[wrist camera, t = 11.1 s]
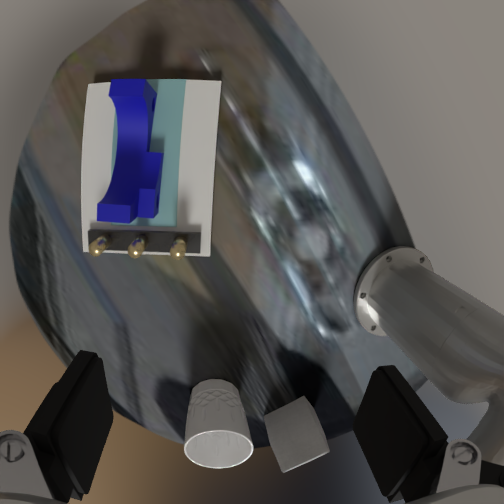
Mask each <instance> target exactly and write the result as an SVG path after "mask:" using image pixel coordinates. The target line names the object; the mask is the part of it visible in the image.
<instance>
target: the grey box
mask: <svg viewBox="0 0 504 504" xmlns="http://www.w3.org/2000/svg"><path fill="white" fill-rule="evenodd" d="M264 419H265V424H266V428H267V432H268V436H269V441H270V445H271V447H272V449H273V452H274V453H275V456H276V458H277V461H278V463H279V465H280V468H281V470H282V472H283V473H284V472H286V471H289V470H291V469H293V468H296V467H298V466H300V465H302V464H305V463H307V462H309V461H311V460H313V459H316V458H318V457H320V456H322V455H324V454H326V453H328V452H329V448H328V444H327V441H326V437H325V434H324V432H323V429H322V427H321V425H320V422H319V420H318V417H317V415H316V413H315V410H314V408H313V407H312V406H311V404H310V403H309V401H308V400H307V399H306V397H305V396H302V397H300V398H298V399H297V400H295V401H293V402H291V403H289V404H287V405H285V406H283V407H281V408H279V409H277V410H275V411H273V412H271V413H269V414H267V415H265V416H264Z"/></svg>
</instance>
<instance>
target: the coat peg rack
mask: <svg viewBox="0 0 504 504" xmlns="http://www.w3.org/2000/svg"><path fill="white" fill-rule="evenodd" d="M88 247H89V248H88V249H89V253H90V254H91V255H92V256H95V257H97V256H99V255H100V254H101V253H102V252H103V251H105V250H113V251H128V254H129V255H130V256H131V257H132V258H138V257H140V256H141V254H142V253H143V252H168V253H170V255H171V257H172V258H173V259H176V260H180V259H182V258H183V257H184V256H185V253H197V254H200V250H201V232H175V231H143V230H104V229H90V230H88Z"/></svg>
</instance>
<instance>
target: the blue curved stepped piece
mask: <svg viewBox="0 0 504 504" xmlns="http://www.w3.org/2000/svg"><path fill="white" fill-rule="evenodd" d="M108 96H109V97H110V98H111V99H112V101H113V103H114V106H115V110H116V115H117V127H118V136H117V151H116V159H115V165H114V170H113V174H112V178H111V181H110V185H109V187H108V190H107V192H106V194H105V196H104V197H103V199H102V200H101V201H100V202H99V203H97V221H101V222H114V223H127V224H130V223H131V222H132V221H134V220H135V219H136V218H137V217H140V218H154V217H155V216H156V215H157V214H158V213H159V200H160V188H161V177H162V167H163V158H164V153H158V152H149V150H150V142H151V134H152V126H153V119H154V112H155V105H156V99H157V93H156V92H155V90H154V89H153V88H152V86H151V85H150V84H149V83H148V81H147V80H146V79H111V84H110V89H109V95H108Z"/></svg>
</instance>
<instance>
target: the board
mask: <svg viewBox="0 0 504 504" xmlns="http://www.w3.org/2000/svg"><path fill="white" fill-rule="evenodd" d="M147 81H148V83H149V84H150V85H151V86H152V88H153V89H154V90H155V92H156V93H157V99H156V105H155V112H154V119H153V126H152V134H151V142H150V150H149V152H158V153H164V158H163V167H162V177H161V188H160V200H159V213H158V214H157V215H156V216H155V217H154V218H140V217H137V218H136V219H135V220H134V221H132V222H131V223H130V224H127V223H114V222H101V221H97V203H99V202H100V201H101V200H102V199H103V197H104V196H105V194H106V192H107V190H108V187H109V185H110V181H111V178H112V174H113V170H114V165H115V159H116V151H117V136H118V127H117V115H116V110H115V106H114V103H113V101H112V99H111V98H110V97H109V96H108V95H109V89H110V84H111V82H105V83H94V84H88V91H87V99H86V108H85V118H84V130H83V145H82V168H81V213H82V237H83V252H89V249H88V248H89V247H88V230H90V229H104V230H143V231H175V232H201V250H200V254H197V253H185V256H210V243H211V221H212V201H213V184H214V168H215V153H216V139H217V126H218V114H219V102H220V91H221V81H210V80H186V79H147ZM103 252H104V253H128V251H113V250H105V251H103ZM142 254H157V255H170V253H168V252H143V253H142Z"/></svg>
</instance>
